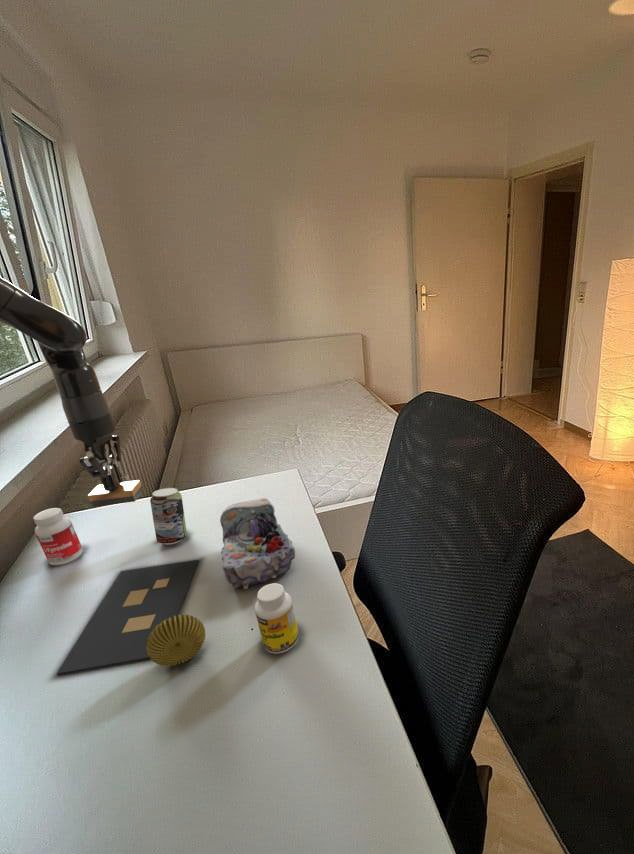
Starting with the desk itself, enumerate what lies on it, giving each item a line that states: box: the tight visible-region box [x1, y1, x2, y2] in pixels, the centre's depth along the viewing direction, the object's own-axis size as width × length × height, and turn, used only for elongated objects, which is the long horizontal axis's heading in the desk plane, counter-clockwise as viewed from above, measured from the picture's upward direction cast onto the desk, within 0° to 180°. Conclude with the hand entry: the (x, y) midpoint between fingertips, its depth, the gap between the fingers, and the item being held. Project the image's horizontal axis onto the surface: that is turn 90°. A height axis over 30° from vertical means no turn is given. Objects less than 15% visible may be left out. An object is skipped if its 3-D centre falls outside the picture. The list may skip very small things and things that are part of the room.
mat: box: [56, 559, 200, 676], centre depth 79 cm, size 15×24×1 cm, turn 10°
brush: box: [87, 465, 143, 507], centre depth 99 cm, size 9×5×8 cm, turn 100°
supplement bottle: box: [254, 582, 299, 654], centre depth 69 cm, size 6×6×10 cm
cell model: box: [219, 497, 296, 590], centre depth 88 cm, size 13×11×20 cm
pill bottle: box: [32, 507, 84, 566], centre depth 93 cm, size 6×6×11 cm
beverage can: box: [149, 487, 188, 546], centre depth 97 cm, size 6×7×12 cm
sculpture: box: [147, 614, 207, 667], centre depth 67 cm, size 8×4×8 cm, turn 121°
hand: (113, 486), depth 99 cm, fingers closed on brush, 2 cm apart
